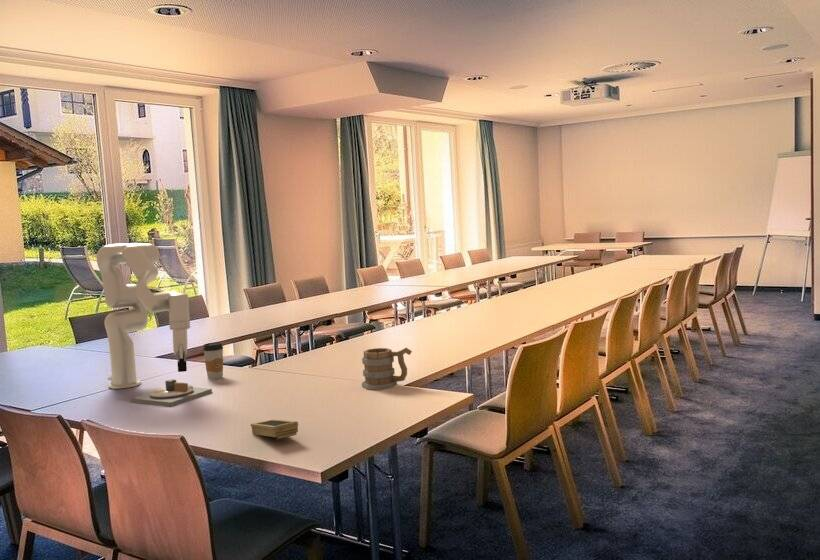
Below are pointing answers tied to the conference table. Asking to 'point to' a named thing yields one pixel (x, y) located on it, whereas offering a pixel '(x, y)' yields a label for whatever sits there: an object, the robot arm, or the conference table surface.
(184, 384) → the dial
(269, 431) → the box
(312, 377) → the conference table surface
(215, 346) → the coffee cup
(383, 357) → the tankard
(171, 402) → the dial plate
